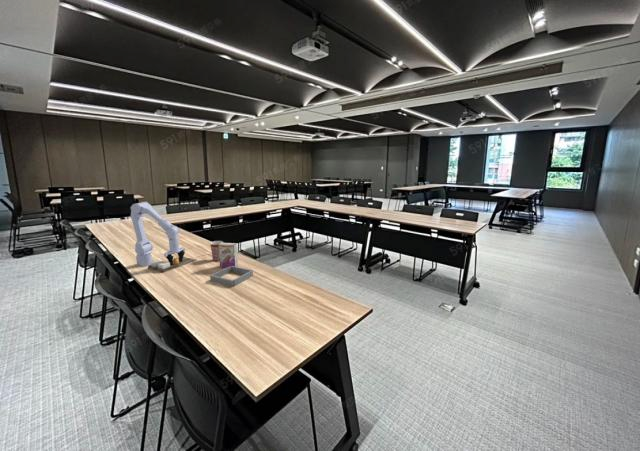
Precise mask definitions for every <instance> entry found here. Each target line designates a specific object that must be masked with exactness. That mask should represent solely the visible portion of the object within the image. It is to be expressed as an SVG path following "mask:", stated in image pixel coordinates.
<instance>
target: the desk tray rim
mask: <svg viewBox="0 0 640 451" xmlns="http://www.w3.org/2000/svg"><path fill="white" fill-rule="evenodd" d="M232 272H233V273H237V274H241V275H240V276H238V277H236V278H234V279H230V278H226V277H224V276H226V275H228V274H230V273H232ZM209 277H210V282H213V283H215V284H220V285H224V286H228V287H232V288H233V287H237V286H238V285H239V284H241V283H243V282H244V281H246V280H249V279H250V278H252V277H254V270H253V269H249V268H244V267H239V266H237V267H235V266H229V267H224V268H223V269H221V270H218V271H217V272H214V273H212V274H210V276H209Z"/></svg>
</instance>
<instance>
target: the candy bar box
mask: <svg viewBox="0 0 640 451" xmlns="http://www.w3.org/2000/svg"><path fill="white" fill-rule="evenodd" d="M237 244H238V243H237V242H236V243H235V242H233V243H232V242H223V243H220V244H219V245H218V247H219V267H220V268H227V267H229V266H235V267H239V266H238V265H239V261H238V247H237V246H238V245H237Z"/></svg>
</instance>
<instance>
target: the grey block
mask: <svg viewBox="0 0 640 451" xmlns="http://www.w3.org/2000/svg"><path fill="white" fill-rule="evenodd" d="M162 261H163V260H156V261H152V263H151V266H153V267H158V264H159V263H162Z"/></svg>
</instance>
